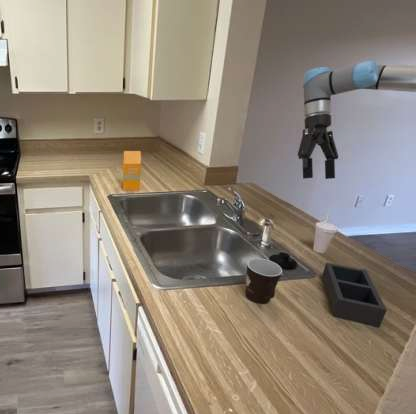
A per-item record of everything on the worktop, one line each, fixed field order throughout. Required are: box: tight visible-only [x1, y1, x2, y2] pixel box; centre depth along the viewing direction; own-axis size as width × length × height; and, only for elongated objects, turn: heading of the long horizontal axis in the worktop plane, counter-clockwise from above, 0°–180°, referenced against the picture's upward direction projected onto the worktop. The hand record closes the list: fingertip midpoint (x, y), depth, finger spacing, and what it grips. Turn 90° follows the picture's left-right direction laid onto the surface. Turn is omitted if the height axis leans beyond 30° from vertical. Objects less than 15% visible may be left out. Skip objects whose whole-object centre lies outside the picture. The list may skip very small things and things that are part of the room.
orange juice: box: [122, 150, 142, 191], centre depth 173 cm, size 8×9×20 cm
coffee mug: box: [244, 257, 283, 305], centre depth 91 cm, size 12×9×10 cm
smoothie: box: [313, 213, 338, 254], centre depth 114 cm, size 6×6×14 cm
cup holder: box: [321, 262, 388, 328], centre depth 91 cm, size 10×19×6 cm, turn 156°
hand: (319, 178), depth 113 cm, fingers open, 13 cm apart
